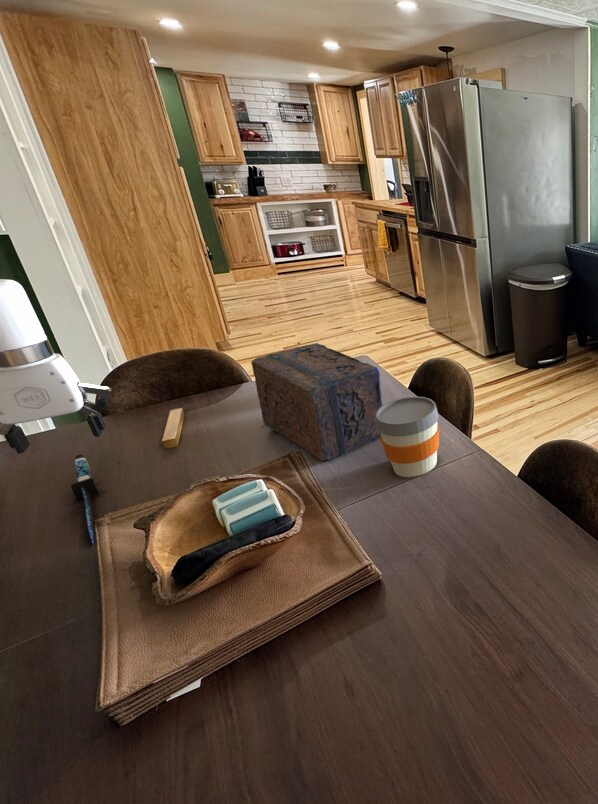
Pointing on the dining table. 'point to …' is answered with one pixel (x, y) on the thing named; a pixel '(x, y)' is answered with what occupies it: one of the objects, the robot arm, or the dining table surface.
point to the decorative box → (319, 398)
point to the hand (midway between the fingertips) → (63, 441)
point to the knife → (85, 488)
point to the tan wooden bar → (173, 428)
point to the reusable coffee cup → (409, 434)
